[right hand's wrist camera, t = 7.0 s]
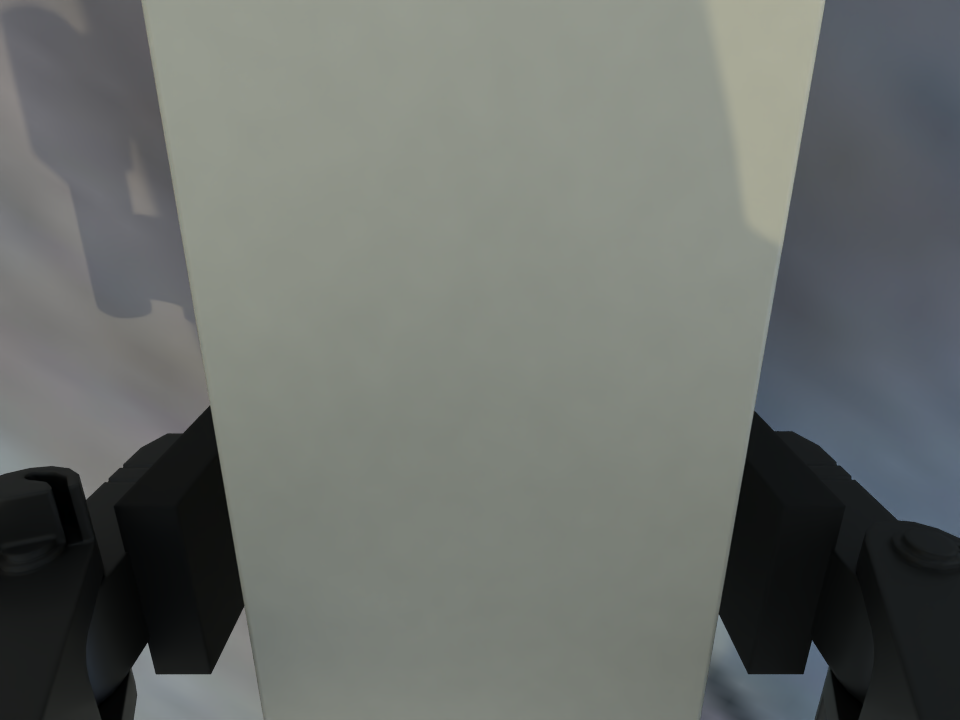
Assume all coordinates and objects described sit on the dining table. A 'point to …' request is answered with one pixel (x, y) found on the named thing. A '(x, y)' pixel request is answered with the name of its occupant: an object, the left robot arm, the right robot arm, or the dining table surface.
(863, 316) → the dining table surface
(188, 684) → the dining table surface
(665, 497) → the beam
